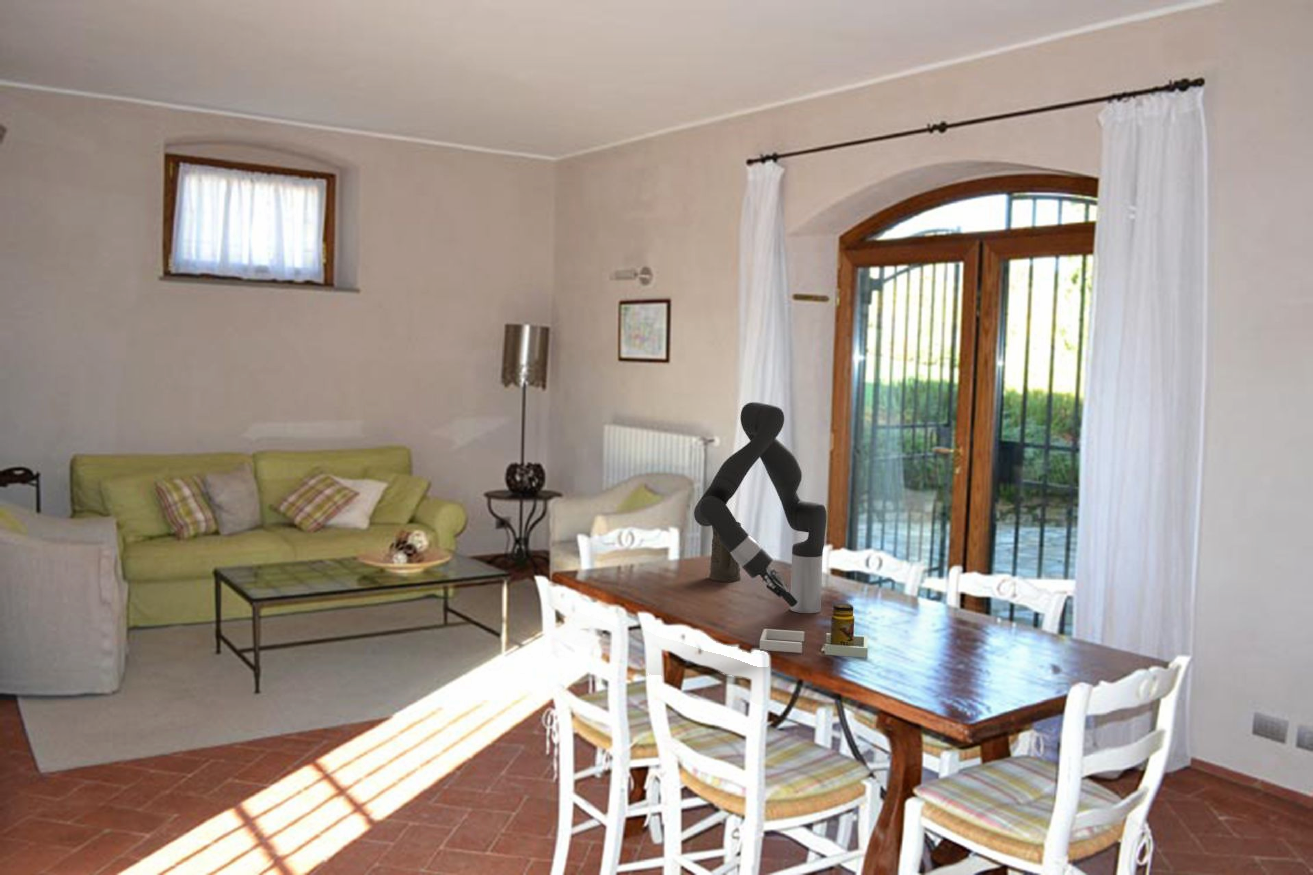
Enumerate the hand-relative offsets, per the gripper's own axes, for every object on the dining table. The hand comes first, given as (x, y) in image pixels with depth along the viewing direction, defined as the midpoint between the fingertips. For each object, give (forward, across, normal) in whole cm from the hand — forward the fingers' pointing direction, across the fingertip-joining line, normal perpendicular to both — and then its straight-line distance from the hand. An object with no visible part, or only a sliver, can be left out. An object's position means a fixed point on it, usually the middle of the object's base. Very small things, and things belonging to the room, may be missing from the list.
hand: (795, 604), depth 298 cm
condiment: (+17, 0, 0) cm, 17 cm away
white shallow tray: (+17, 0, -1) cm, 17 cm away
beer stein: (-11, +79, +27) cm, 84 cm away
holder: (+6, 0, +9) cm, 11 cm away
